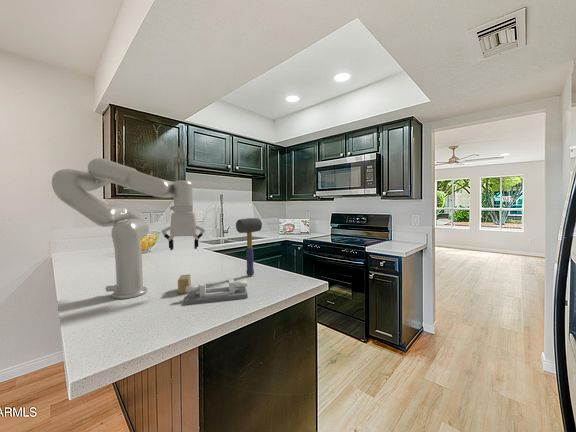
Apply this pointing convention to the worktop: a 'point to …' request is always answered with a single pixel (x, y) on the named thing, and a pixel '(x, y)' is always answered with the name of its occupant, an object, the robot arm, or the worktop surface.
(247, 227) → the rubber mallet
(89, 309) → the worktop surface
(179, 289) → the coupler
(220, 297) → the shaft stand
